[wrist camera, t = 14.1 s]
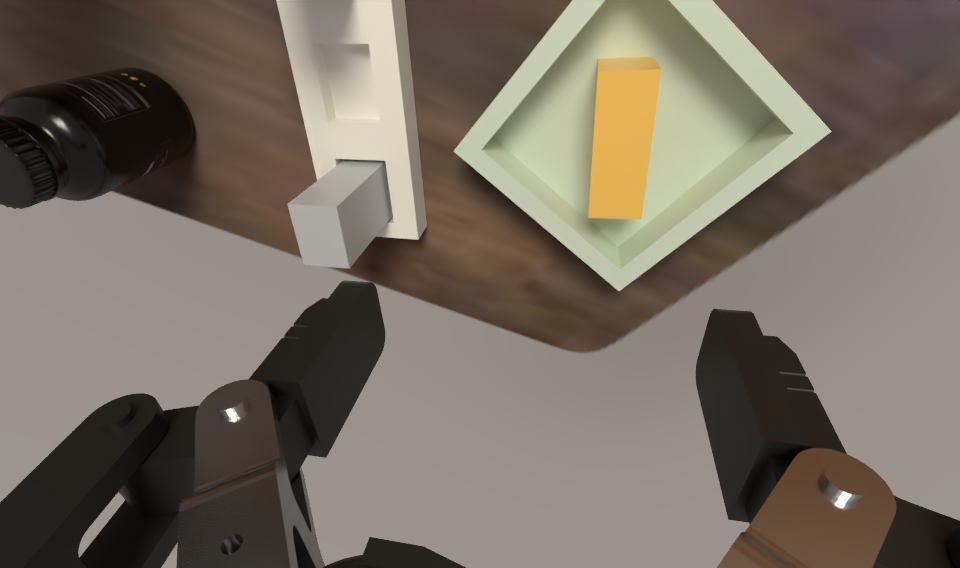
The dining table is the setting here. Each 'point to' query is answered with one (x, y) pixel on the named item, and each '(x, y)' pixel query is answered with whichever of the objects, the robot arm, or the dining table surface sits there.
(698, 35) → the sage tray
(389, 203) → the block
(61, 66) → the dining table surface
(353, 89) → the block
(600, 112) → the block
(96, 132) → the supplement bottle
